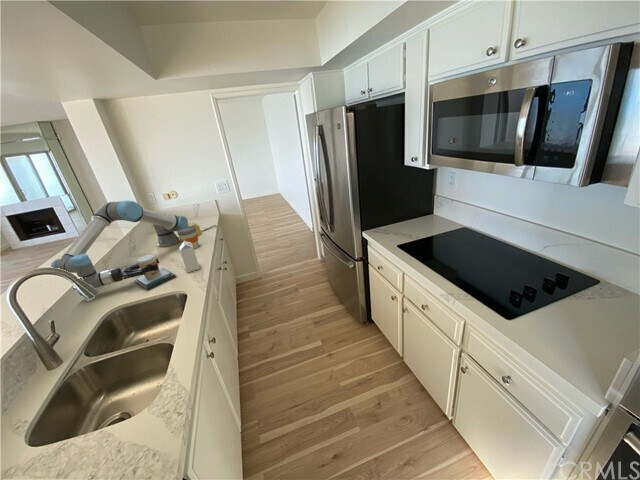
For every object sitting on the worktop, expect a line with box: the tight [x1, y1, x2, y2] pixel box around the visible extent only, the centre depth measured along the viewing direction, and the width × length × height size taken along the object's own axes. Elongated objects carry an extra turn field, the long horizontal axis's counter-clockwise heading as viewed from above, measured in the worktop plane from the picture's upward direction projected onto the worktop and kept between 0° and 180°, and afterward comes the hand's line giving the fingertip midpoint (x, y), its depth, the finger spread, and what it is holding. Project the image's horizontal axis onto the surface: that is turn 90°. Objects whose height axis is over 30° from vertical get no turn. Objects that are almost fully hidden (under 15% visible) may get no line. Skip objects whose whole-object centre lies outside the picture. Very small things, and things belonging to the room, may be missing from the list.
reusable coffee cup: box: [176, 226, 199, 250], centre depth 196 cm, size 13×13×15 cm
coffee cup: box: [136, 253, 160, 279], centre depth 154 cm, size 9×9×12 cm
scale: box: [134, 267, 177, 292], centre depth 157 cm, size 16×18×3 cm
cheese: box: [188, 222, 203, 236], centre depth 221 cm, size 10×11×10 cm
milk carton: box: [179, 241, 201, 273], centre depth 161 cm, size 7×7×19 cm
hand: (158, 263), depth 156 cm, fingers closed on coffee cup, 9 cm apart
